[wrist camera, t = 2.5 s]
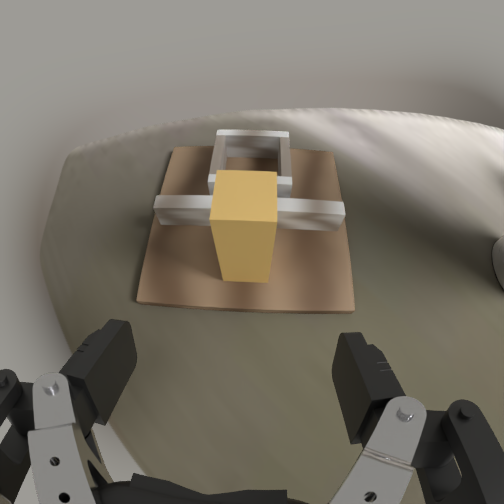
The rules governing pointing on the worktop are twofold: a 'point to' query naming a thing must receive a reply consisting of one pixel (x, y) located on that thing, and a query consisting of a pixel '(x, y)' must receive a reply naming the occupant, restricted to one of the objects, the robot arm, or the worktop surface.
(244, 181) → the block
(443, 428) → the robot arm
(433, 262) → the worktop surface
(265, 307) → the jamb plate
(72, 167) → the worktop surface
